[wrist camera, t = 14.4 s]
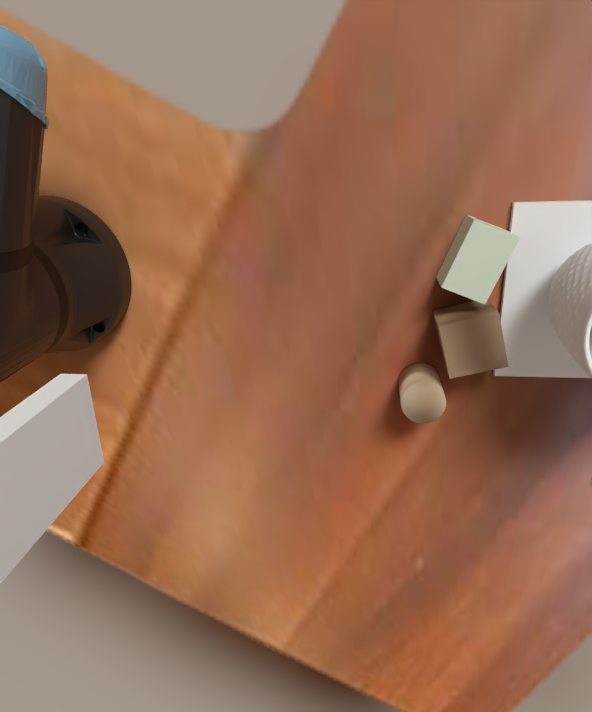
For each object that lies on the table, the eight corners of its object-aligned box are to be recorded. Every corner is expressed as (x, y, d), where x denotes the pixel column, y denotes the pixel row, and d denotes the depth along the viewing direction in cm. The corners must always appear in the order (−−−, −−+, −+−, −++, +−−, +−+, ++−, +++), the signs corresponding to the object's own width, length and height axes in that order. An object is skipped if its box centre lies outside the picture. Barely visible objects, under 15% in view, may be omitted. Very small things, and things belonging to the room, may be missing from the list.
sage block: (435, 277, 48) (441, 287, 44) (466, 214, 46) (474, 219, 42) (476, 292, 48) (484, 304, 44) (508, 230, 46) (520, 237, 42)
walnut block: (442, 358, 51) (449, 378, 46) (432, 310, 49) (438, 326, 45) (495, 346, 50) (508, 366, 45) (486, 297, 48) (499, 312, 44)
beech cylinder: (397, 398, 53) (400, 422, 48) (399, 361, 51) (401, 382, 47) (438, 399, 52) (444, 423, 48) (440, 362, 51) (447, 384, 46)
